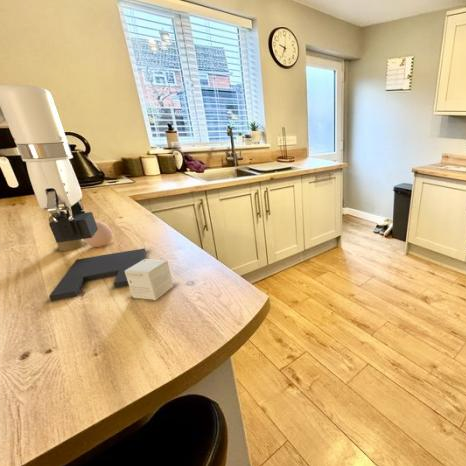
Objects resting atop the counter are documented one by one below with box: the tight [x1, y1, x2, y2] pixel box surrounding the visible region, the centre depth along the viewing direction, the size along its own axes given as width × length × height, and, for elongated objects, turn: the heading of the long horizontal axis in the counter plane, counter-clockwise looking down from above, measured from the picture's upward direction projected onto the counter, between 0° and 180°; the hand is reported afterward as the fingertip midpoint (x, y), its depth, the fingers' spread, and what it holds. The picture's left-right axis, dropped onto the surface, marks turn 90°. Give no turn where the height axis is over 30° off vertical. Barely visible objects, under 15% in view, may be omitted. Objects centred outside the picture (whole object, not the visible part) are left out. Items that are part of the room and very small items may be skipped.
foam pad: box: [48, 211, 98, 244], centre depth 66 cm, size 6×6×4 cm
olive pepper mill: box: [48, 215, 85, 252], centre depth 89 cm, size 6×6×11 cm
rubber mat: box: [49, 248, 147, 302], centre depth 76 cm, size 16×20×2 cm
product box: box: [125, 258, 174, 301], centre depth 67 cm, size 6×6×7 cm
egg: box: [82, 220, 114, 248], centre depth 90 cm, size 7×7×8 cm
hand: (76, 231), depth 66 cm, fingers closed on foam pad, 6 cm apart
